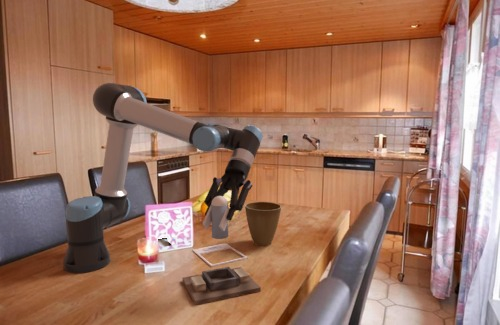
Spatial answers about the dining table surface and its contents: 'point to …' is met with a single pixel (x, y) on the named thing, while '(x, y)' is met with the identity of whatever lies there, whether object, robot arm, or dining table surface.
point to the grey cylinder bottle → (218, 217)
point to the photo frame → (214, 249)
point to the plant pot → (262, 221)
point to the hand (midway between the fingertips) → (213, 227)
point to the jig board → (219, 284)
